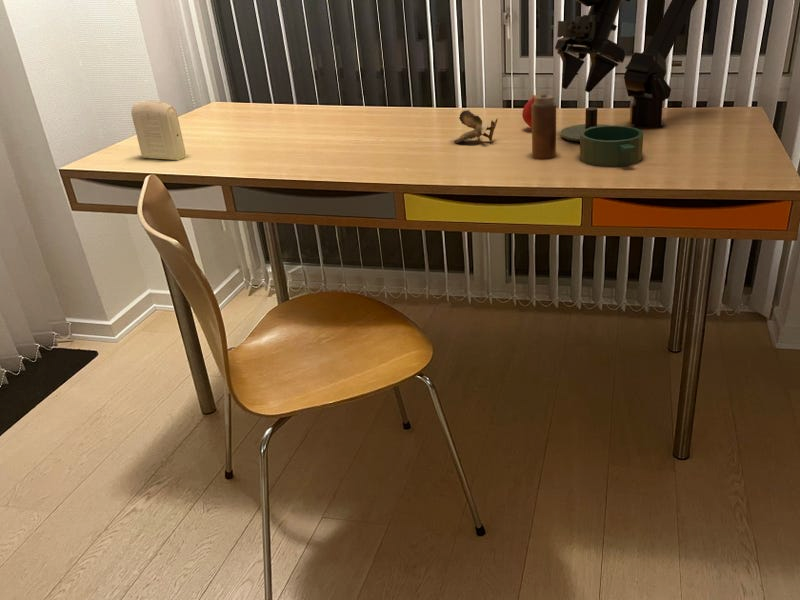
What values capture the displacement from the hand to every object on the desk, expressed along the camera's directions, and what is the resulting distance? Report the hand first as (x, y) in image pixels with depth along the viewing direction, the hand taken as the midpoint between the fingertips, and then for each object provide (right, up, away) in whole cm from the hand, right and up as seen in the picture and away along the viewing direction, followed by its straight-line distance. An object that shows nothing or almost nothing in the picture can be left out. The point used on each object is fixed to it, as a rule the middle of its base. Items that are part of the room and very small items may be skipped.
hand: (575, 90), depth 170 cm
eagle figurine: (-21, -8, +11) cm, 25 cm away
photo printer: (-91, -12, +10) cm, 93 cm away
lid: (+5, -7, +10) cm, 13 cm away
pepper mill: (-7, -14, -1) cm, 16 cm away
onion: (-7, -4, +17) cm, 19 cm away
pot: (+7, -15, -5) cm, 18 cm away
